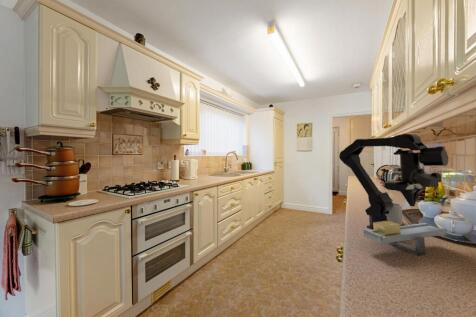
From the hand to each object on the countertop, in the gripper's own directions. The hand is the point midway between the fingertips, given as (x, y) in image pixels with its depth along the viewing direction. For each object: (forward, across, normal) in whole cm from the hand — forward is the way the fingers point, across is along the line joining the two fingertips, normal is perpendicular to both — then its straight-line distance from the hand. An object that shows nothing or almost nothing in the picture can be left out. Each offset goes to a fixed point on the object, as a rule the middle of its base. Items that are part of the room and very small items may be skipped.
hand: (412, 206), depth 79 cm
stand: (+12, -12, -7) cm, 18 cm away
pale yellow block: (+6, -19, -7) cm, 21 cm away
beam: (+8, -12, -7) cm, 16 cm away
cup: (+12, +9, +17) cm, 23 cm away
